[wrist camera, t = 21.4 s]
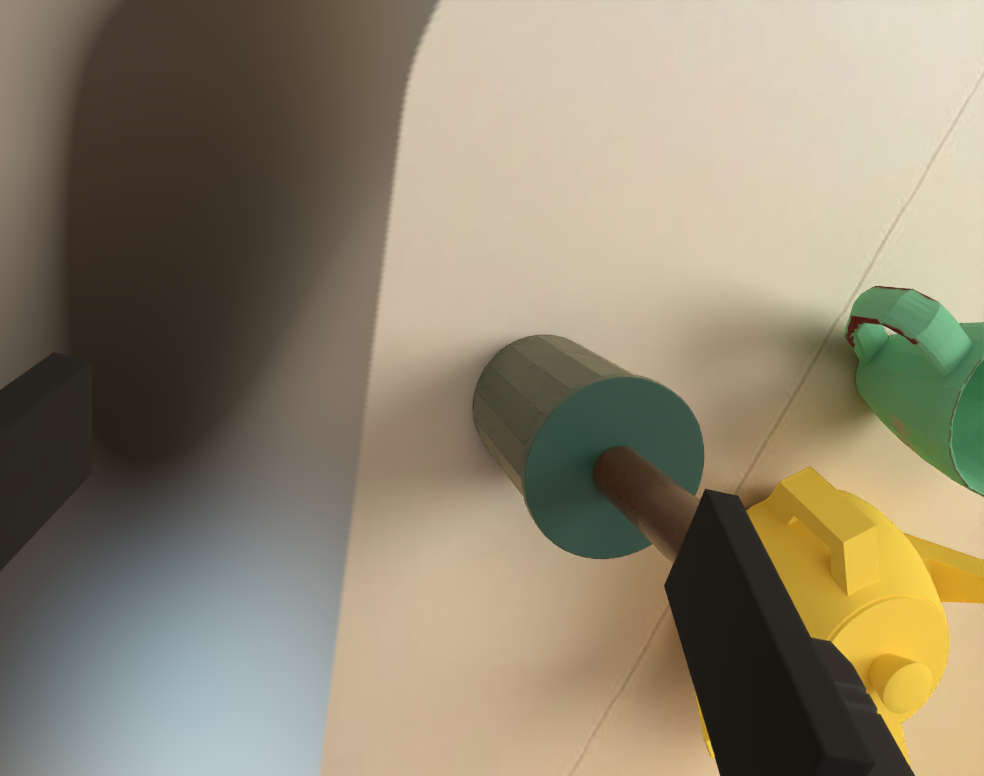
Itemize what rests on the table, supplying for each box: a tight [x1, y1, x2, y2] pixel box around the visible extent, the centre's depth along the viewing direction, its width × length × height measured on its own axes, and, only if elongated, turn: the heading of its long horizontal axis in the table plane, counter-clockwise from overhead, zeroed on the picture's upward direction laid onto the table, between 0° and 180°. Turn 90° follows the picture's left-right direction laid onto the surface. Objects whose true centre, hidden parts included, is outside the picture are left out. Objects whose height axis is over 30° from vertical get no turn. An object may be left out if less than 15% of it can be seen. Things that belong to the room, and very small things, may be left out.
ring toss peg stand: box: [521, 374, 704, 564], centre depth 29 cm, size 9×9×10 cm
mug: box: [844, 286, 984, 497], centre depth 44 cm, size 15×10×10 cm
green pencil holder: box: [473, 335, 634, 496], centre depth 38 cm, size 8×8×10 cm
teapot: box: [694, 466, 984, 768], centre depth 46 cm, size 17×17×12 cm
